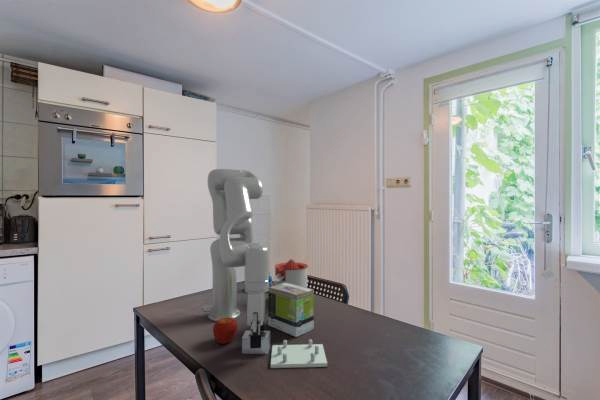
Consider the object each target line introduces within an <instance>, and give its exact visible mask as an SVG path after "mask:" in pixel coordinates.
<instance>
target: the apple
mask: <svg viewBox="0 0 600 400" xmlns="http://www.w3.org/2000/svg"><path fill="white" fill-rule="evenodd" d="M238 325H239V324H238V323H237V320H236V319H233V318H229V317H225V318H221V319H219V320H218V321H215V323H214V324H213V328H212V332H213V335H214V338H215V339H214V340H215V341H216V343H219V344H223V345H224V344H228V343H230V342H232V340H234V338H235V337H236V334H237V332H238V329H239V326H238Z"/></svg>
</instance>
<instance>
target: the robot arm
mask: <svg viewBox="0 0 600 400" xmlns="http://www.w3.org/2000/svg"><path fill="white" fill-rule="evenodd" d="M207 187H208V192H209V195H210V198H211V202H212V218H213V219H212V221H213V222H212V223H213V231H214V233H215V234H216V235H219V238H218V239H215V240H213V241H212V243H210V247H209V249H210V250H209V251H210V252H209V253H210V259H211V267H212V299H211V301H212V304H210V305H202V307H201V311H203V313H207V312H208V319H209V320H210V321H213V322H216V321H218V320H219V319H221V318H225V317H229V318H233V319H235V320H236V319H238V318H239V317H240V316H241V310H240V309H238V308H237V271H236V269H235V268H239V267H244V292H246V293H247V300H246V326H247V327H249V326H250V331H251V334H250V348H261V334H260V331H265V329H264V328H265V326H264V324H265V322H264V321H265V313H266V292H268V290H269V275H270V271H269V270H270V267H269V266H270V261H269V258H270V254H269V253H270V252H269V249H268V247H267V246H265V245H262V244H260V243H258V242H254V234H253V233H254V232H253V231H254V230H253V220H252V217H253V209H252V205H251V200H259V199H260V198H262V195H263V193H264V189H263V188H264V187H263V184H262V181H261V180H260V178H259V177H258V176H256V175H255V174H254V173H252V172H251V171H249V170H244V169H233V168H231V169H230V168H215V169H212V170H210V171H209V173H208V176H207ZM232 235H238V236H239V237H230V236H232Z"/></svg>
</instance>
